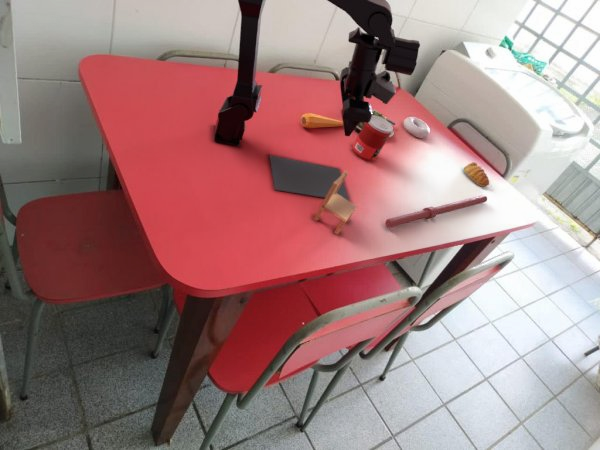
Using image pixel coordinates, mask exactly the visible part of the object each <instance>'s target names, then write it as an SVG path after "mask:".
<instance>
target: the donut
mask: <svg viewBox="0 0 600 450" xmlns="http://www.w3.org/2000/svg"><path fill="white" fill-rule="evenodd" d="M403 128H404V130H405V131H406V132H407V133H409V134H410V135H411V136H413V137H416V138H419V139H424V138H427V137H428V136H429V135H430V131H431V130H430V127H429V125H428V124H427V123H426V122H425V121H423V120H422V119H420V118H418V117H416V116H408V117H406V118H405V119H404V120H403Z"/></svg>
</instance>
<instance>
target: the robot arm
mask: <svg viewBox="0 0 600 450" xmlns="http://www.w3.org/2000/svg"><path fill="white" fill-rule="evenodd" d="M326 1H327V2H329V3H331V4H332V5H334V6H335V7H337V8H339V9H340V10H342V11H343V12H345V13H346V14H347V15H348V16H349V17H350V19H352V20H353V22H354V23H355V24H356V25H357V26H358V27H356V29H354V30H352V31H350V32H348V38H347V39H348V42H349V43H351V44H355V46H354V50H353V53H352V57H351V60H349V62H348V66H346V67H344V68H343V69H341V71H340V72H341V73H340V75H339V86H340V87H339V88H340V95H341V103H342V109H341V119H342V122H343V126H342V127H343V132H344V136H345V137H350V136H351V135H352V134H353V132H354V131H355V130H354V129H355V128H356V127H357V125H358V124H359V123H360V122H365V123H368V122H370V120H371V117H372V109H373V108H372V105H371V103H370V102H369V101H366V100H365V98H366V99H369V100H370V99H372V97H374V98H375V99H377V100H379V101H381V102H382V103H383V104H384V105H388V103H390V101H391V100H392V99H393V98H394V96H395V95H397V93H396V87H395V85H394V83H393V81H392V80H391V73H390V72H393V73H397V74H400V75H401V74H402V75H407V76H412V75H413V73H414V71H415V69H416V68H417V67H416V66H417V64H418V63H417V62H418V61H417V60H418V57H419V49H420V47H421V44H420V41H419V40H416V39H406V38H403V37H397V36H396V35H395V34H396V33H395V30H394V29H393V28H392V25H393V14H392V13H393V12H392V9H391V4H390V3H389V2H388V1H387V0H326ZM237 2H238V7H239V10H240V30H239V32H240V33H239V47H238V62H237V63H238V64H237V78H236V83H235V87H234V89H233V92H232V95H229V96H227V97H226V98H225V100H224V102H223V103H222V105H221V107H220V109H219V110H218V112H217V118H216V121H215V124H214V125H213V141H214V142H216V143H220V144H225V145H230V146H235V147H240V146H241V141H243V137H244V134H245V131H246V122H247V121H249V120H251V119H252V118H253V117H254V114H255V113H257V112H258V110H259V107H260V104H261V102H262V96H261V93H262V90H263V85H262V84H257V79H256V76H257V64H258V55H259V45H260V33H261V22H262V15H263V10H264V8H265V4H266V2H267V0H237ZM362 30H363V31H364V32H363V31H362ZM381 56H382V57H381ZM380 59H381V62H380ZM379 62H380V63H381V65H384V70H382V71H381V72H378V73H376V71H377V68H378V65H379Z"/></svg>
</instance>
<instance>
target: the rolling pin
mask: <svg viewBox="0 0 600 450" xmlns="http://www.w3.org/2000/svg"><path fill="white" fill-rule="evenodd" d="M486 202H488V197H487V196H486V195H485V194H481V195H478V196H474V197H470V198H466V199H461V200H459V201H455V202H451V203H450V202H449V203H446V204H443V205H438V206H428V207H424V208H423V209H422V210H419V211H414V212H411V213H406V214H402V215H399V216H395V217H391V218H387V219H385V221H384V224H385V227H386V228H387V229H392V228H396V227H398V226H403V225H406V224H410V223H415V222H417V221H420V220H424V219H425V220H431V219H434V218H436V217H437V216H439V215H442V214H446V213H450V212H453V211H458V210H462V209H465V208H469V207H471V206H477V205H480V204H484V203H486Z"/></svg>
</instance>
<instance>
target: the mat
mask: <svg viewBox="0 0 600 450" xmlns="http://www.w3.org/2000/svg"><path fill="white" fill-rule="evenodd" d="M268 158H269V163H270V169H271V175H272V182H273V187H274V191H277V192H284V193H291V194H294V195H295V194H296V195H303V196H308V197H315V198H321V199H325V198H326V196H327V194H328V192H329V190H330V189H331V187H332V185H333V183H334V182H335V181H336V180H337V179H338V178H339V177H340V176H341V175H342V174H341V171H340V169H339V167H332V166H327V165H322V164H317V163H312V162H308V161H307V162H306V161H303V160H297V159H291V158H287V157H281V156H277V155H271V154H269V155H268ZM337 194H339V195H340V196H342V197H343V198H345V199H346V200H348V201H349V202H351V201H350V199H349V195H348V192H347V189H346V186H345V183H344V182H343V183H342V184H341V186H340V188H339V190H338V192H337Z"/></svg>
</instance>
